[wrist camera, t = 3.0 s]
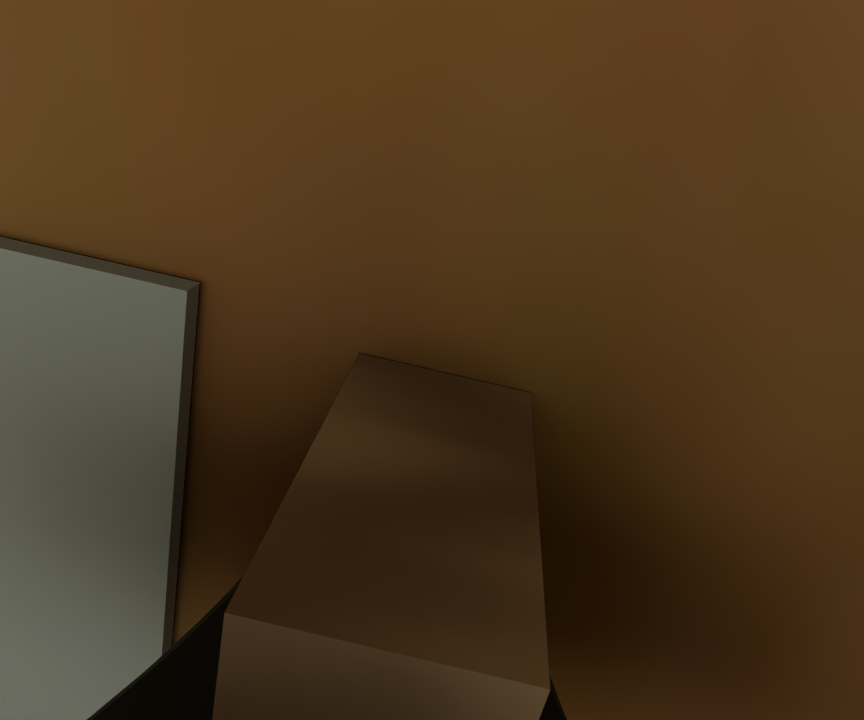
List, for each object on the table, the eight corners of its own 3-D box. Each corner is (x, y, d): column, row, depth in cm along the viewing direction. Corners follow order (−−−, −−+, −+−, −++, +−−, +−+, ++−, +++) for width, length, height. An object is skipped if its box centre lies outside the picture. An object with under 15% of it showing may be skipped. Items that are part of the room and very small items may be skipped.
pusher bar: (531, 393, 10) (549, 689, 5) (428, 743, 12) (381, 1142, 8) (359, 352, 10) (224, 612, 5) (295, 711, 12) (170, 1090, 8)
